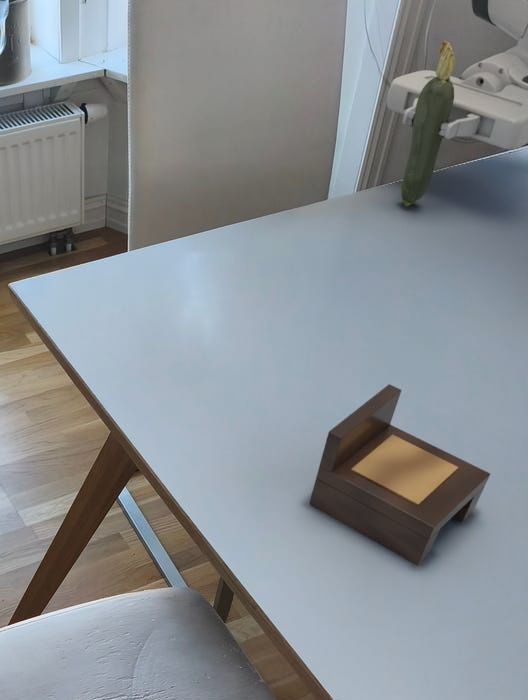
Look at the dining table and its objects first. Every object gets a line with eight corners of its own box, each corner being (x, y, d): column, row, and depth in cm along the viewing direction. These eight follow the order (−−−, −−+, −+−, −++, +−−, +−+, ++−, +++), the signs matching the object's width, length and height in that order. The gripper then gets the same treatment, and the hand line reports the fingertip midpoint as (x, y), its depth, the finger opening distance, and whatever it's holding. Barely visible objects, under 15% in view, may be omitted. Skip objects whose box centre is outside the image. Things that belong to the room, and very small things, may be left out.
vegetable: (426, 213, 122) (475, 48, 107) (396, 216, 122) (440, 51, 107) (415, 199, 125) (461, 36, 110) (385, 201, 125) (427, 38, 110)
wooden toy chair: (472, 513, 85) (507, 438, 78) (417, 567, 81) (448, 493, 74) (365, 457, 91) (389, 383, 84) (308, 505, 87) (328, 431, 80)
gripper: (430, 50, 123) (367, 76, 118) (566, 90, 113) (503, 121, 107) (416, 100, 128) (356, 127, 123) (546, 142, 117) (485, 174, 112)
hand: (426, 125), depth 115 cm, fingers closed on vegetable, 4 cm apart
